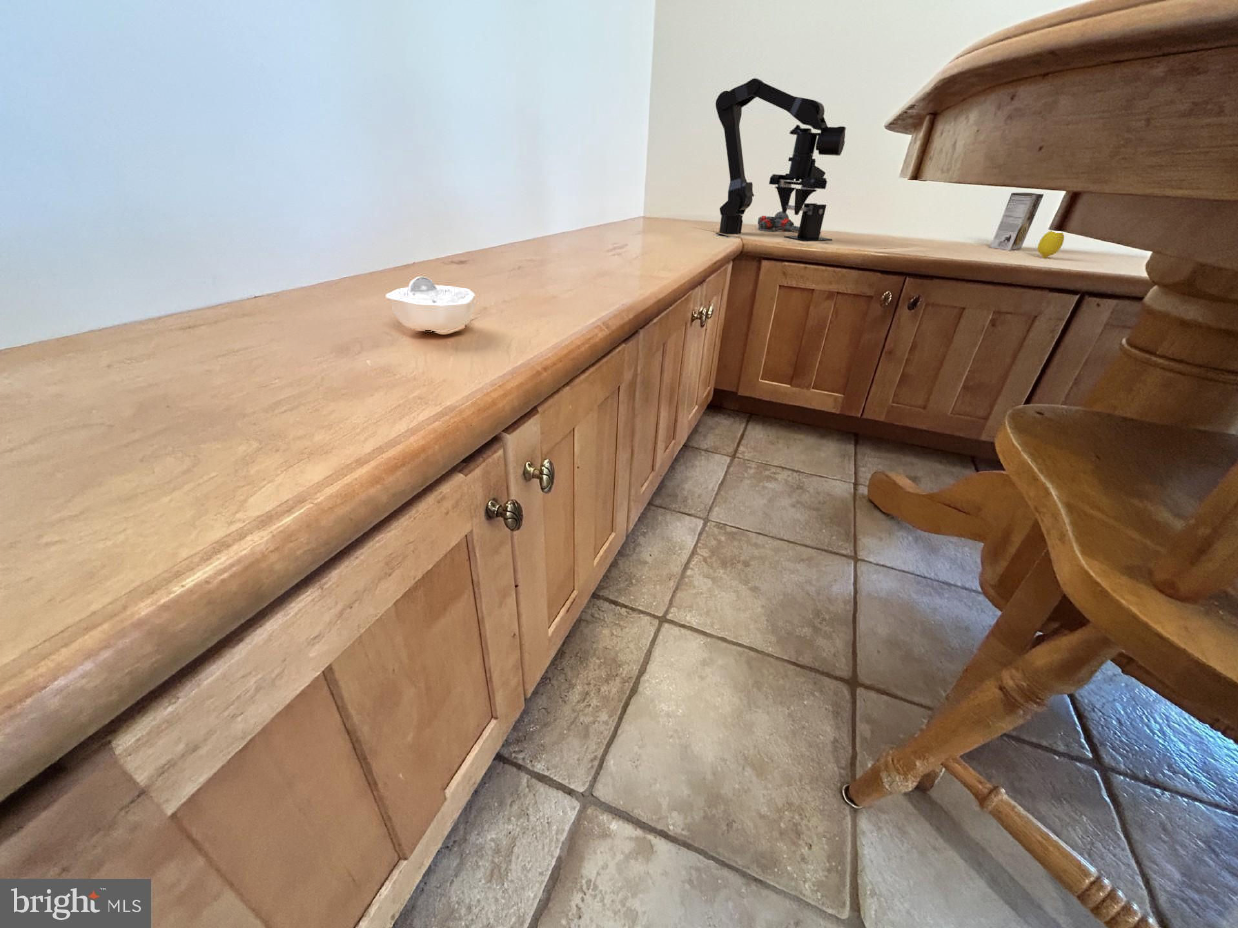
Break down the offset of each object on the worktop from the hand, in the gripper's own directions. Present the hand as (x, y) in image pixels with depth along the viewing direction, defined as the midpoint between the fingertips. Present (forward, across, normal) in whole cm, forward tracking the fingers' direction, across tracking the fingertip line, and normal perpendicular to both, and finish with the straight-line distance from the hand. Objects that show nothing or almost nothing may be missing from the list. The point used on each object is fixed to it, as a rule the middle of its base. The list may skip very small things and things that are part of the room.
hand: (790, 214), depth 152 cm
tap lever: (0, 0, -5) cm, 5 cm away
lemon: (+7, -41, -64) cm, 77 cm away
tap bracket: (+8, 0, -9) cm, 12 cm away
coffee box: (+7, -24, -73) cm, 77 cm away
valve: (+8, +18, -14) cm, 24 cm away
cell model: (+10, -62, +112) cm, 129 cm away
